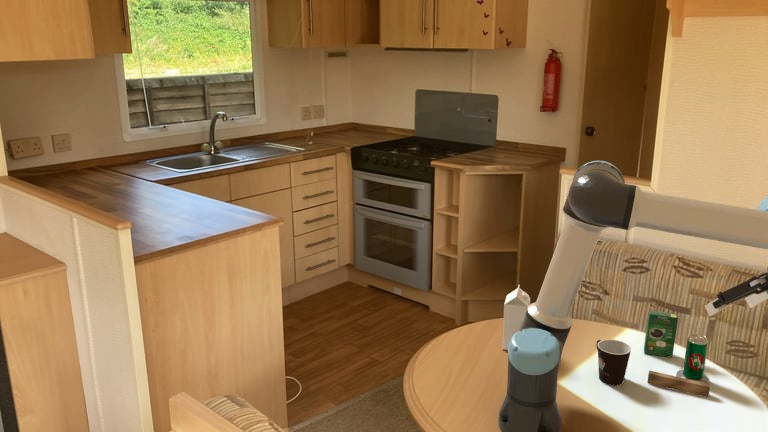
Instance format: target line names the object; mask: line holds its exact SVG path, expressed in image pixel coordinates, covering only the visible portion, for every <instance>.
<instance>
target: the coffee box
mask: <svg viewBox="0 0 768 432" xmlns="http://www.w3.org/2000/svg"><path fill="white" fill-rule="evenodd" d="M678 322H679V316H678V314H677V313H669V312H668V313H667V312H662V311H655V310H654V311H653V310H649V312H648V318H647V324H646V331H645V336H644V345H643V353H644V354H647V355H653V356H661V357H665V358H666V357H667V358H673V355H674V348H675V342H676V341H675V340H676V335H677V330H678Z"/></svg>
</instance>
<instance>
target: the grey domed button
mask: <svg viewBox="0 0 768 432" xmlns="http://www.w3.org/2000/svg"><path fill="white" fill-rule="evenodd" d="M676 376H677V377H681V378H685V379H688V378H686V377H685V376H684V375H683V369H679V370H678V371H677V372H676ZM698 381H699V382H703V383H708V384H709V381H710V380H709V377H708V376H707V375H706V374H705V373H704V374H703V378H702V379H701V380H698Z"/></svg>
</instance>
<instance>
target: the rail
mask: <svg viewBox="0 0 768 432" xmlns="http://www.w3.org/2000/svg"><path fill="white" fill-rule="evenodd" d="M647 384H650V385H654V386H657V387H658V386H659V387H662V388H667V389H670V390H675V391H679V392H683V393H687V394H690V395H691V394H692V395H696V396H700V395H701V397H704V396H706V397H705V398H709V395H710V390H711V389H710V388H711V383H709V382H708V383H703V382H699V381H694V380H690V379H685V378H681V377H677V376H675V375H671V374H666V373H662V372H660V371H659V372H657V371H654V370H648V375H647Z"/></svg>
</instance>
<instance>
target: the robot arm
mask: <svg viewBox="0 0 768 432" xmlns="http://www.w3.org/2000/svg"><path fill="white" fill-rule="evenodd" d="M567 193H568V194H567V196H566V199H565V202H564V205H563V206H562V207H563V208H562V213H563V214H564V217H565V221H564V224H563V226H562V230H561V231H560V234H559V238H558V240H557V244H556V246H555V250H554V251H553V254H552V258H551V260H550V264H549V266H548V268H547V271H546V273H545V276H544V279H543V283H542V285H541V288H540V290H539V294H538V295H537V299H536V301H535V302H532V303H530V305H529V306H528V308H527V311H526V314H525V316H524V319H523V321H522V323H521V326H520V329H519V331H518V332H516V333H515V334H514V335H513V336H512V338H511V340H510V343H509V347H508V350H507V357H508V361H507V380H506V381H507V382H506V396H505V397H504V400H503V402H502V404H501V406H500V409H499V412H498V417H497V419H498V421H497V422H498V423H497V425H498V427H499V429H500V430H501V432H562V430H563V429H562V428H563V427H562V426H563V421H562V416H561V413H560V409H559V406H558V403H557V393H558V392H557V391H558V375H559V370H560V369H559V368H560V364H561V359H562V354H563V351H564V347H565V344H566V341H567V339H568V336H569V334H570V333H571V329H572V327H573V319H572V317H571V315H570V313H571V311H572V308H573V306H574V303H575V301H576V298H577V296H578V293H579V290H580V288H581V285H582V282H583V280H584V278H585V275H586V272H587V269H588V268H589V264H590V262H591V260H592V256H593V254H594V251H595V249H596V247H597V243H598V241H599V239H600V237H601V233H602V231H604V230H606V229H609V228H613V229H618V230H619V229H620V230H624V231H631V230H632V229H634V228H641V229H642V228H643V229H646V230H651V231H652V230H653V231H659V232H664V233H668V234H669V233H671V234H676V235H682V236H689V237H694V238H699V239H705V240H710V241H717V242H722V243H727V244H735V245H739V246H740V245H741V246H746V247H750V248H751V247H752V248H757V249H763V250H768V195H767V196H766V197H765V198H763V200H762V201H761V202H760V203H759V204H758V206H757V207H756V208H751V207H750V208H749V207H742V206H737V205H731V204H730V205H729V204H724V203H717V202H712V201H705V200H698V199H694V198H693V199H692V198H687V197H680V196H675V195H667V194H662V193H661V194H660V193H656V192H655V193H654V192H649V191H648V192H647V191H643V190H642V189H641V188H640V187H639V185H635V184H629V183H626V182H625V178H624V176H623V174H622V172H621V171H620V170H619V168H617V167H616V165H614V164H612V163H610V162H608V161H605V160H593V161H589V162H587V163H585V164H583V165H581V166H580V167H579V168H578V169H577V170H576V171H575V173H574V175H573V177H572V182H571V184H570V186H569V189H568V192H567ZM767 270H768V267H767ZM716 297H717V298H716V299H714V300H712V301H710V302H709V303H707V304H706V305H704V308H705V310H706V312H707V314H708V315H709V317H712V316H714V315H716V314H718V313H719V312H721V311H722V310H724V309H726V308H727V307H729V306H731V304H732V303H735V302H737V301H740V300H741V299H744V300H745V301H746V303H747V305H748V306H749V309H753V308H754V307H756V306H758V305H760V304H761V303H764V302H765V301H767V300H768V271H767V272H764V273H762V274H760V275H759V276H755V275H754V276H752V277H751V278H748V279H747V280H746V281H744V282H741V283H738V284H737V285H735V286H733V287H731V288H729V289H726V290H724V291H719V292H718V293H717V294H716Z"/></svg>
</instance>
